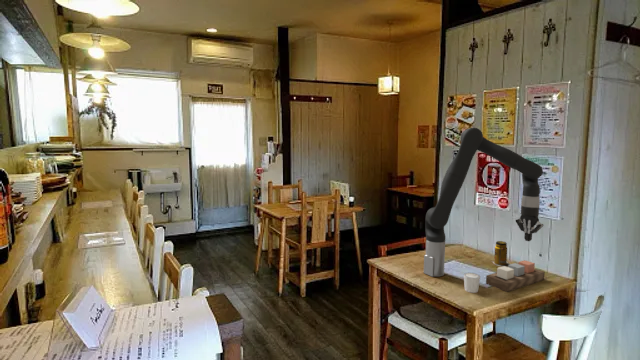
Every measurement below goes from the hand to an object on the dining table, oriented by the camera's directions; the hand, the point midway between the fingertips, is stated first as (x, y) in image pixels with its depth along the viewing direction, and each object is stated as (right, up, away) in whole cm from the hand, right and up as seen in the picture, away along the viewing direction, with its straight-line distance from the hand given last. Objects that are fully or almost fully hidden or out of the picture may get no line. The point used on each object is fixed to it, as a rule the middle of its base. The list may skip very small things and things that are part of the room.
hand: (528, 240), depth 183 cm
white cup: (-32, -21, -11) cm, 39 cm away
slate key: (-7, -15, -2) cm, 17 cm away
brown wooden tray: (-7, -19, -2) cm, 20 cm away
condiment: (-1, -16, +23) cm, 28 cm away
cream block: (-14, -16, -6) cm, 22 cm away
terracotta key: (0, -15, +2) cm, 15 cm away
